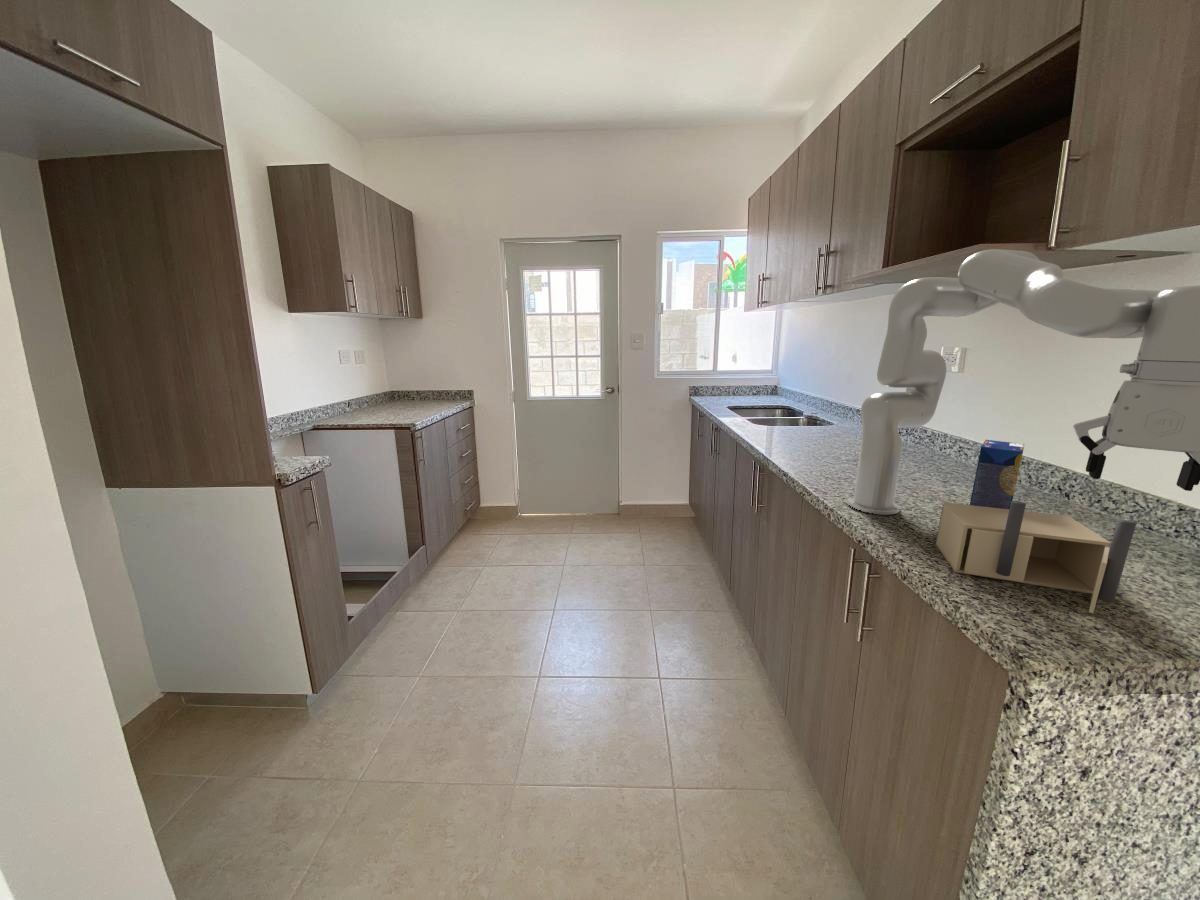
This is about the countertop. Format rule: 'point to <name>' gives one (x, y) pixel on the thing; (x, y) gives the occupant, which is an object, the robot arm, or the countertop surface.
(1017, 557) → the flap
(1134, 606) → the countertop surface
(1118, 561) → the flap
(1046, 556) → the wooden cabinet
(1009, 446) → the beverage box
